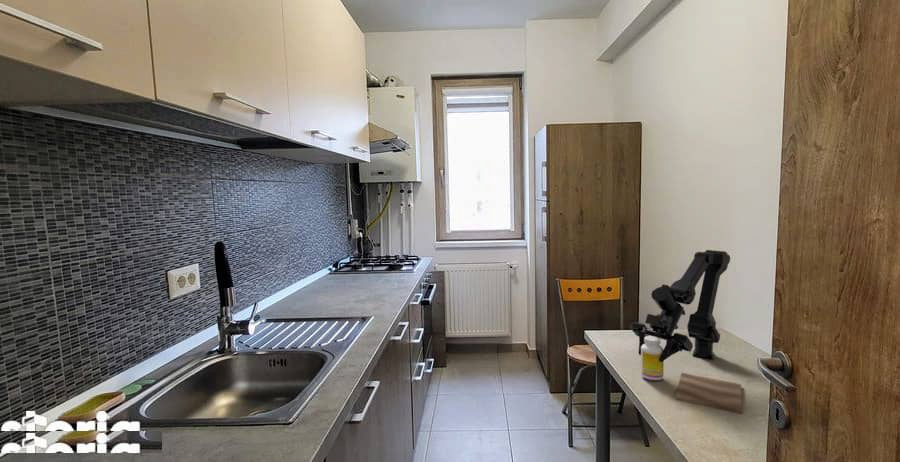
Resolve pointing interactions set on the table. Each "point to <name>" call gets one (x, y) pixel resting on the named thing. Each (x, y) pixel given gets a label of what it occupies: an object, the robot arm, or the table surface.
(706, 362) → the table surface
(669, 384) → the table surface
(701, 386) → the walnut board
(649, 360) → the supplement bottle
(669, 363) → the table surface
